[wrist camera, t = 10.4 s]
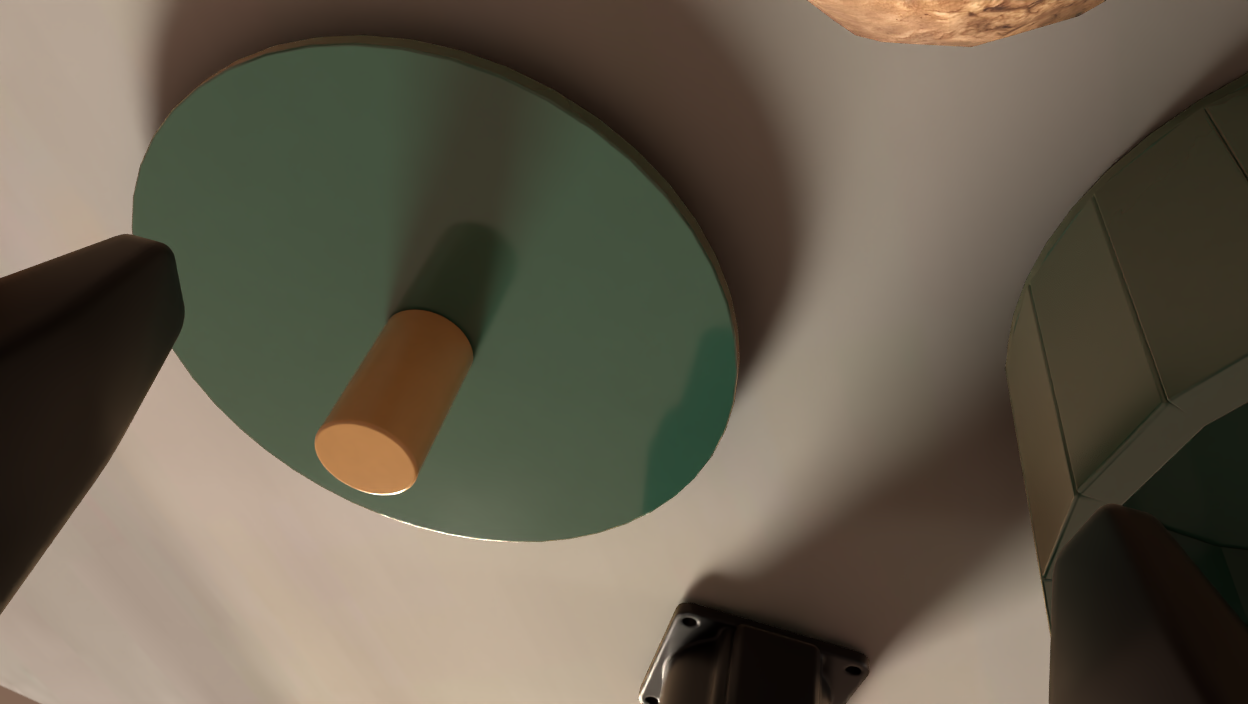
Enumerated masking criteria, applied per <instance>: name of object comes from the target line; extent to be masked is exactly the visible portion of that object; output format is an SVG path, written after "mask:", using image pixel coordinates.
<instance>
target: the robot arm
mask: <svg viewBox="0 0 1248 704" xmlns="http://www.w3.org/2000/svg"><path fill="white" fill-rule="evenodd" d="M184 318H185V307H184V301H183V296H182V291H181V286H180V281H179V276H178V271H177V265H176V260H175V256H174V253H173V252H172V250H171V249H170V248H169V246H167V245H165V244H164V243H161V242H158V241H154V240H150V239H147V238H143V237H139V236H136V235H130V234H123V235H119V236H115V237H112V238H109V239H107V240H104V241H101V242H98V243H96V244H93V245H90V246H87V247H85V248H82V249H79V250H76V251H74V252H71V253H68V254H66V255H63V256H60V257H57V258H55V259H52V260H49V261H46V262H44V263H41V264H38V265H35V266H33V267H30V268H27V269H24V270H22V271H19V272H16V273H13V274H11V275H8V276H5V277H2V278H0V615H1V613H2V612H3V610H4V609H5V607H6V606H7V605H8V603H9V602H10V600H11V599H12V598H13V596H14V595H15V593H16V592H17V591H18V589H19V588H20V586H21V585H22V584H23V582H24V581H25V579H26V578H27V577H28V575H29V574H30V572H31V571H32V570H33V568H34V567H35V565H36V564H37V562H38V561H39V560H40V558H41V557H42V555H43V554H44V553H45V551H46V550H47V548H48V547H49V546H50V544H51V543H52V541H53V540H54V539H55V537H56V536H57V534H58V533H59V532H60V530H61V529H62V527H63V526H64V525H65V523H66V522H67V520H68V519H69V517H70V516H71V515H72V513H73V512H74V510H75V509H76V508H77V506H78V505H79V503H80V502H81V501H82V499H83V498H84V496H85V495H86V494H87V492H88V491H89V489H90V488H91V487H92V485H93V484H94V482H95V481H96V479H97V478H98V476H99V475H100V473H101V472H102V470H103V469H104V468H105V466H106V465H107V463H108V462H109V460H110V458H111V457H112V455H113V453H114V452H115V450H116V448H117V446H118V445H119V443H120V441H121V440H122V438H123V436H124V434H125V432H126V431H127V429H128V427H129V425H130V423H131V422H132V420H133V418H134V416H135V414H136V412H137V411H138V409H139V407H140V405H141V403H142V402H143V400H144V398H145V396H146V394H147V392H148V391H149V389H150V387H151V385H152V383H153V381H154V380H155V378H156V376H157V374H158V372H159V371H160V369H161V367H162V365H163V363H164V361H165V360H166V358H167V356H168V354H169V352H170V351H171V349H172V347H173V345H174V343H175V341H176V340H177V338H178V336H179V334H180V332H181V329H182V326H183V323H184ZM868 674H869V659H868V657H867V656H866V655H865V654H863V653H860V652H858V651H854V650H851V649H847V648H844V647H841V646H837V645H834V644H830V643H827V642H824V641H820V640H817V639H814V638H810V637H807V636H803V635H800V634H797V633H793V632H790V631H786V630H783V629H780V628H776V627H773V626H770V625H766V624H763V623H759V622H756V621H753V620H749V619H746V618H742V617H739V616H736V615H732V614H729V613H726V612H722V611H719V610H715V609H712V608H709V607H705V606H702V605H698V604H695V603H682V604H679V605H678V606H677V608H676V610H675V612H674V614H673V617H672V619H671V621H670V623H669V625H668V628H667V630H666V632H665V634H664V636H663V639H662V641H661V643H660V645H659V647H658V650H657V652H656V654H655V656H654V658H653V660H652V663H651V665H650V667H649V669H648V671H647V674H646V676H645V678H644V680H643V682H642V685H641V687H640V692H639V701H640V702H641V703H642V704H845V703H846V702H847V701H848V700H849V698H850V697H851V696H852V695H853V693H854V692H855V691H856V690H857V688H858V687H859V686H860V685H861V683H862V682H863V681H864V680H865V678H866V677H867V676H868ZM1049 704H1248V627H1247V625H1246V624H1245V623H1244V622H1243V621H1242V619H1241V618H1240V617H1239V616H1238V615H1237V613H1236V612H1235V611H1234V610H1233V609H1232V607H1231V606H1230V605H1229V604H1228V603H1227V601H1226V600H1225V599H1224V598H1223V597H1222V595H1221V594H1220V593H1219V592H1218V591H1217V589H1216V588H1215V587H1214V586H1213V585H1212V583H1211V582H1210V581H1209V580H1208V579H1207V577H1206V576H1205V575H1204V574H1203V573H1202V571H1201V570H1200V569H1199V568H1198V567H1197V565H1196V564H1195V563H1194V562H1193V561H1192V559H1191V558H1190V557H1189V556H1188V555H1187V553H1186V552H1185V551H1184V550H1183V549H1182V547H1181V546H1180V545H1179V544H1178V543H1177V541H1176V540H1175V539H1174V538H1173V537H1172V535H1171V534H1170V533H1169V532H1168V531H1167V529H1166V528H1165V527H1164V526H1163V524H1162V523H1161V522H1160V521H1159V520H1158V519H1157V518H1156V517H1154V516H1153V515H1151V514H1149V513H1147V512H1143V511H1140V510H1136V509H1132V508H1129V507H1125V506H1122V505H1118V504H1106V505H1104V506H1101V507H1100V508H1099V509H1098V510H1096V511H1095V512H1094V514H1093V515H1092V516H1091V517H1090V518H1089V519H1088V520H1087V521H1086V523H1085V524H1084V525H1083V526H1082V527H1081V528H1080V529H1079V530H1078V532H1077V533H1076V534H1075V535H1074V536H1073V537H1072V538H1071V539H1070V541H1069V542H1068V543H1067V544H1066V545H1065V546H1064V547H1063V549H1062V550H1061V551H1060V553H1059V555H1058V557H1057V559H1056V562H1055V565H1054V570H1053V582H1052V614H1051V646H1050V679H1049Z"/></svg>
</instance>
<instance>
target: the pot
mask: <svg viewBox="0 0 1248 704" xmlns="http://www.w3.org/2000/svg"><path fill="white" fill-rule="evenodd" d="M1005 364H1006V366H1005V372H1006V378H1007V384H1008V391H1009V397H1010V403H1011V409H1012V415H1013V421H1014V427H1015V433H1016V439H1017V445H1018V450H1019V456H1020V462H1021V468H1022V474H1023V480H1024V485H1025V491H1026V497H1027V503H1028V509H1029V515H1030V520H1031V526H1032V532H1033V538H1034V544H1035V550H1036V556H1037V561H1038V567H1039V573H1040V579H1041V585H1042V591H1043V596H1044V602H1045V608H1046V614H1047V620H1048V626H1049V631H1050V637H1051V614H1052V582H1053V570H1054V565H1055V562H1056V559H1057V557H1058V555H1059V553H1060V551H1061V550H1062V549H1063V547H1064V546H1065V545H1066V544H1067V543H1068V542H1069V541H1070V539H1071V538H1072V537H1073V536H1074V535H1075V534H1076V533H1077V532H1078V530H1079V529H1080V528H1081V527H1082V526H1083V525H1084V524H1085V523H1086V521H1087V520H1088V519H1089V518H1090V517H1091V516H1092V515H1093V514H1094V512H1095V511H1096V510H1098V509H1099V508H1100V507H1101V506H1104V505H1106V504H1118V505H1122V506H1125V507H1129V508H1132V509H1136V510H1140V511H1143V512H1147V513H1149V514H1151V515H1153V516H1154V517H1156V518H1157V519H1158V520H1159V521H1160V522H1161V523H1162V524H1163V526H1164V527H1165V528H1166V529H1167V531H1168V532H1169V533H1170V534H1171V535H1172V537H1173V538H1174V539H1175V540H1176V541H1177V543H1178V544H1179V545H1180V546H1181V547H1182V549H1183V550H1184V551H1185V552H1186V553H1187V555H1188V556H1189V557H1190V558H1191V559H1192V561H1193V562H1194V563H1195V564H1196V565H1197V567H1198V568H1199V569H1200V570H1201V571H1202V573H1203V574H1204V575H1205V576H1206V577H1207V579H1208V580H1209V581H1210V582H1211V583H1212V585H1213V586H1214V587H1215V588H1216V589H1217V591H1218V592H1219V593H1220V594H1221V595H1222V597H1223V598H1224V599H1225V600H1226V601H1227V603H1228V604H1229V605H1230V606H1231V607H1232V609H1233V610H1234V611H1235V612H1236V613H1237V615H1238V616H1239V617H1240V618H1241V619H1242V621H1243V622H1244V623H1245V624H1246V625H1247V627H1248V73H1247V74H1245V75H1243V76H1241V77H1240V78H1238V79H1236V80H1234V81H1233V82H1231V83H1229V84H1227V85H1225V86H1224V87H1222V88H1220V89H1218V90H1217V91H1215V92H1213V93H1211V94H1209V95H1208V96H1206V97H1204V98H1202V99H1201V100H1199V101H1197V102H1196V103H1194V104H1193V105H1192V106H1190V107H1189V108H1187V109H1186V110H1184V111H1183V112H1181V113H1180V114H1179V115H1177V116H1176V117H1174V118H1173V119H1171V120H1170V121H1169V122H1167V123H1166V124H1164V125H1163V126H1161V127H1160V128H1158V129H1157V130H1156V131H1154V132H1153V133H1151V134H1150V135H1149V136H1147V137H1146V138H1145V139H1144V140H1143V141H1142V142H1140V143H1139V144H1138V145H1137V146H1136V147H1134V148H1133V149H1132V150H1131V151H1130V152H1129V153H1127V154H1126V155H1125V156H1124V157H1123V158H1122V159H1120V160H1119V161H1118V162H1117V163H1116V164H1115V165H1113V166H1112V167H1111V168H1110V169H1109V170H1108V171H1107V172H1106V173H1105V174H1104V175H1103V176H1102V177H1101V178H1100V179H1099V180H1098V181H1097V182H1096V183H1095V184H1094V185H1093V186H1092V187H1091V189H1090V190H1089V191H1088V192H1087V193H1086V194H1085V195H1084V196H1083V197H1082V198H1081V199H1080V200H1079V201H1078V202H1077V203H1076V204H1075V206H1074V207H1073V208H1072V209H1071V211H1070V212H1069V213H1068V215H1067V216H1066V217H1065V219H1064V220H1063V221H1062V223H1061V224H1060V225H1059V227H1058V228H1057V229H1056V231H1055V232H1054V234H1053V235H1052V236H1051V238H1050V239H1049V240H1048V242H1047V243H1046V245H1045V246H1044V248H1043V250H1042V252H1041V254H1040V256H1039V257H1038V259H1037V261H1036V263H1035V265H1034V266H1033V268H1032V270H1031V272H1030V274H1029V276H1028V277H1027V279H1026V282H1025V284H1024V287H1023V290H1022V292H1021V295H1020V298H1019V301H1018V303H1017V306H1016V309H1015V311H1014V314H1013V319H1012V324H1011V330H1010V335H1009V340H1008V345H1007V359H1006V363H1005Z"/></svg>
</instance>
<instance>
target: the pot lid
mask: <svg viewBox="0 0 1248 704" xmlns="http://www.w3.org/2000/svg"><path fill="white" fill-rule="evenodd" d="M132 233H133V235H136V236H139V237H143V238H147V239H150V240H154V241H158V242H161V243H164V244H165V245H167V246H169V248H170V249H171V250H172V252H173V253H174V256H175V260H176V265H177V271H178V276H179V281H180V286H181V291H182V296H183V301H184V307H185V318H184V323H183V326H182V329H181V332H180V334H179V336H178V338H177V340H176V341H175V343H174V345H173V347H172V349H173V351H174V352H175V353H176V355H177V356H178V358H179V359H180V361H181V362H182V363H183V365H184V366H185V368H186V369H187V371H188V372H189V373H190V375H191V376H192V378H193V379H194V380H195V381H196V382H197V384H198V385H199V386H200V387H201V388H202V389H203V391H204V392H205V393H206V394H207V395H208V397H209V398H210V399H211V400H212V401H213V402H214V404H215V405H216V406H217V407H218V408H220V409H221V410H222V411H223V412H224V413H225V414H226V415H227V416H228V417H229V418H230V419H231V420H232V421H233V422H234V423H235V424H236V425H237V426H238V427H239V428H240V429H241V430H242V431H244V432H245V433H246V434H247V435H248V436H249V437H251V438H252V439H253V440H254V441H255V442H257V443H258V444H259V445H260V446H261V447H263V448H264V449H265V450H266V451H268V452H269V453H271V454H272V455H273V456H275V457H276V458H278V459H279V460H280V461H282V462H283V463H285V464H286V465H287V466H289V467H290V468H292V469H293V470H295V471H296V472H298V473H300V474H301V475H303V476H305V477H306V478H308V479H310V480H311V481H313V482H314V483H316V484H318V485H319V486H321V487H323V488H325V489H327V490H329V491H331V492H333V493H335V494H337V495H339V496H340V497H342V498H344V499H346V500H348V501H350V502H352V503H355V504H357V505H359V506H362V507H364V508H367V509H369V510H371V511H374V512H376V513H378V514H381V515H383V516H386V517H389V518H392V519H395V520H398V521H401V522H404V523H407V524H410V525H413V526H416V527H420V528H424V529H428V530H432V531H436V532H440V533H444V534H449V535H455V536H461V537H467V538H473V539H479V540H491V541H502V542H544V541H555V540H565V539H572V538H577V537H582V536H587V535H592V534H596V533H600V532H603V531H606V530H609V529H612V528H615V527H618V526H621V525H625V524H627V523H629V522H631V521H633V520H635V519H637V518H640V517H642V516H644V515H646V514H648V513H650V512H652V511H653V510H655V509H656V508H658V507H659V506H661V505H662V504H664V503H665V502H667V501H668V500H670V499H671V498H673V497H674V496H676V495H677V494H678V493H679V492H680V491H681V490H682V489H683V488H684V487H685V486H686V485H688V484H689V483H690V482H691V481H692V480H693V479H694V478H695V477H696V476H697V474H698V473H699V472H700V471H701V469H702V468H703V467H704V465H705V464H706V463H707V462H708V460H709V459H710V458H711V456H712V455H713V453H714V451H715V449H716V448H717V446H718V444H719V442H720V440H721V438H722V436H723V434H724V432H725V430H726V428H727V424H728V421H729V418H730V415H731V411H732V408H733V405H734V402H735V395H736V388H737V380H738V372H739V363H740V355H739V336H738V325H737V321H736V316H735V311H734V307H733V302H732V298H731V293H730V290H729V288H728V285H727V283H726V280H725V277H724V275H723V272H722V270H721V267H720V265H719V262H718V259H717V257H716V255H715V253H714V251H713V249H712V248H711V246H710V244H709V242H708V241H707V239H706V237H705V235H704V233H703V232H702V230H701V228H700V226H699V224H698V223H697V221H696V219H695V218H694V216H693V215H692V214H691V212H690V211H689V210H688V208H687V207H686V206H685V204H684V203H683V202H682V200H681V199H680V198H679V196H678V195H677V194H676V192H675V191H674V190H673V188H672V187H671V186H670V184H669V183H668V182H667V181H666V180H665V179H664V178H663V177H662V176H661V175H660V174H659V173H658V172H657V171H656V169H655V168H654V167H653V166H652V165H651V164H650V163H649V162H648V161H647V160H646V159H645V158H644V157H643V156H642V155H641V154H640V153H639V152H638V151H637V150H636V149H635V148H634V147H633V146H632V145H630V144H629V143H628V142H627V141H625V140H624V139H623V138H622V137H621V136H619V135H618V134H617V133H616V132H614V131H613V130H612V129H611V128H610V127H608V126H607V125H606V124H605V123H603V122H602V121H601V120H600V119H599V118H597V117H596V116H594V115H593V114H591V113H590V112H588V111H587V110H585V109H583V108H582V107H580V106H579V105H577V104H576V103H574V102H573V101H571V100H569V99H568V98H566V97H565V96H563V95H562V94H560V93H558V92H557V91H555V90H554V89H552V88H550V87H548V86H546V85H543V84H541V83H539V82H537V81H535V80H533V79H531V78H529V77H527V76H525V75H523V74H521V73H519V72H517V71H515V70H513V69H511V68H509V67H506V66H503V65H501V64H498V63H495V62H492V61H489V60H486V59H484V58H481V57H478V56H475V55H472V54H469V53H467V52H464V51H461V50H457V49H453V48H448V47H444V46H439V45H435V44H430V43H426V42H421V41H417V40H412V39H403V38H392V37H381V36H370V35H349V36H328V37H314V38H310V39H305V40H300V41H295V42H290V43H285V44H280V45H275V46H272V47H270V48H267V49H265V50H262V51H259V52H257V53H254V54H252V55H249V56H246V57H244V58H241V59H238V60H237V61H235V62H234V63H232V64H230V65H229V66H227V67H225V68H224V69H222V70H220V71H219V72H217V73H215V74H214V75H212V76H211V77H209V78H207V79H206V80H205V81H203V82H202V83H201V84H200V85H198V86H197V87H196V88H195V89H194V90H193V91H192V92H191V93H190V94H188V95H187V96H186V97H185V98H184V99H183V100H182V101H181V102H180V103H179V104H178V105H177V106H175V107H174V108H173V109H172V111H171V112H170V113H169V115H168V116H167V117H166V119H165V120H164V122H163V123H162V124H161V126H160V127H159V129H158V130H157V131H156V133H155V134H154V136H153V138H152V140H151V142H150V144H149V147H148V149H147V151H146V153H145V156H144V158H143V160H142V162H141V165H140V169H139V173H138V178H137V182H136V186H135V191H134V195H133V213H132Z"/></svg>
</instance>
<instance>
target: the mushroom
mask: <svg viewBox="0 0 1248 704" xmlns="http://www.w3.org/2000/svg"><path fill="white" fill-rule="evenodd" d="M808 1H809V2H810V3H812V4H813V5H814V6H816V7H817V8H818V9H820V10H821V11H822V12H824V13H825V14H826V15H828V16H829V17H830V18H832V19H833V20H834V21H836V22H837V23H839V24H840V25H842V26H843V27H845V28H846V29H847V30H849V31H850V32H852V33H853V34H855V35H857V36H861V37H865V38H869V39H873V40H877V41H881V42H894V43H909V44H927V45H945V46H964V47H973V46H976V45H980V44H984V43H987V42H991V41H994V40H998V39H1001V38H1005V37H1008V36H1012V35H1015V34H1019V33H1022V32H1025V31H1029V30H1032V29H1036V28H1039V27H1043V26H1046V25H1050V24H1053V23H1056V22H1060V21H1063V20H1067V19H1070V18H1074V17H1077V16H1079V15H1081V14H1083V13H1085V12H1087V11H1088V10H1090V9H1092V8H1094V7H1095V6H1097V5H1099V4H1101V3H1102V2H1104V1H1106V0H808Z"/></svg>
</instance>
